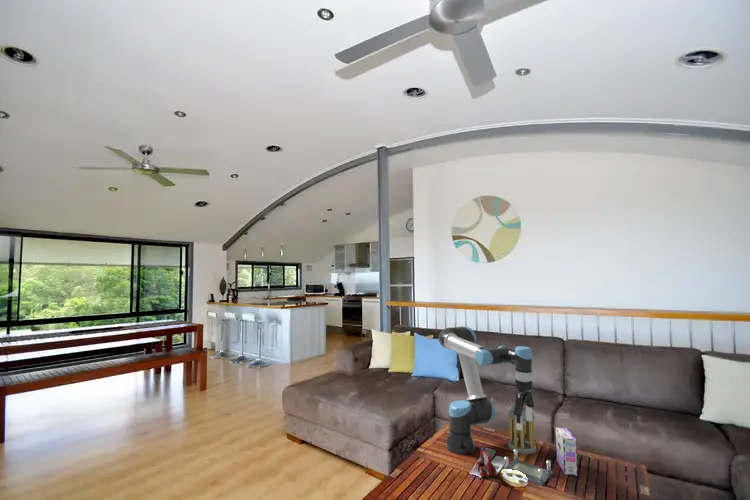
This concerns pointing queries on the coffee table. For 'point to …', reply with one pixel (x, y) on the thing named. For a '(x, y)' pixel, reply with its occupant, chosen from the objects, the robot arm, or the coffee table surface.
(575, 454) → the candy box
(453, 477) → the coffee table surface
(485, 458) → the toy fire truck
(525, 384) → the robot arm
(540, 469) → the chassis
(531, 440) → the lantern
